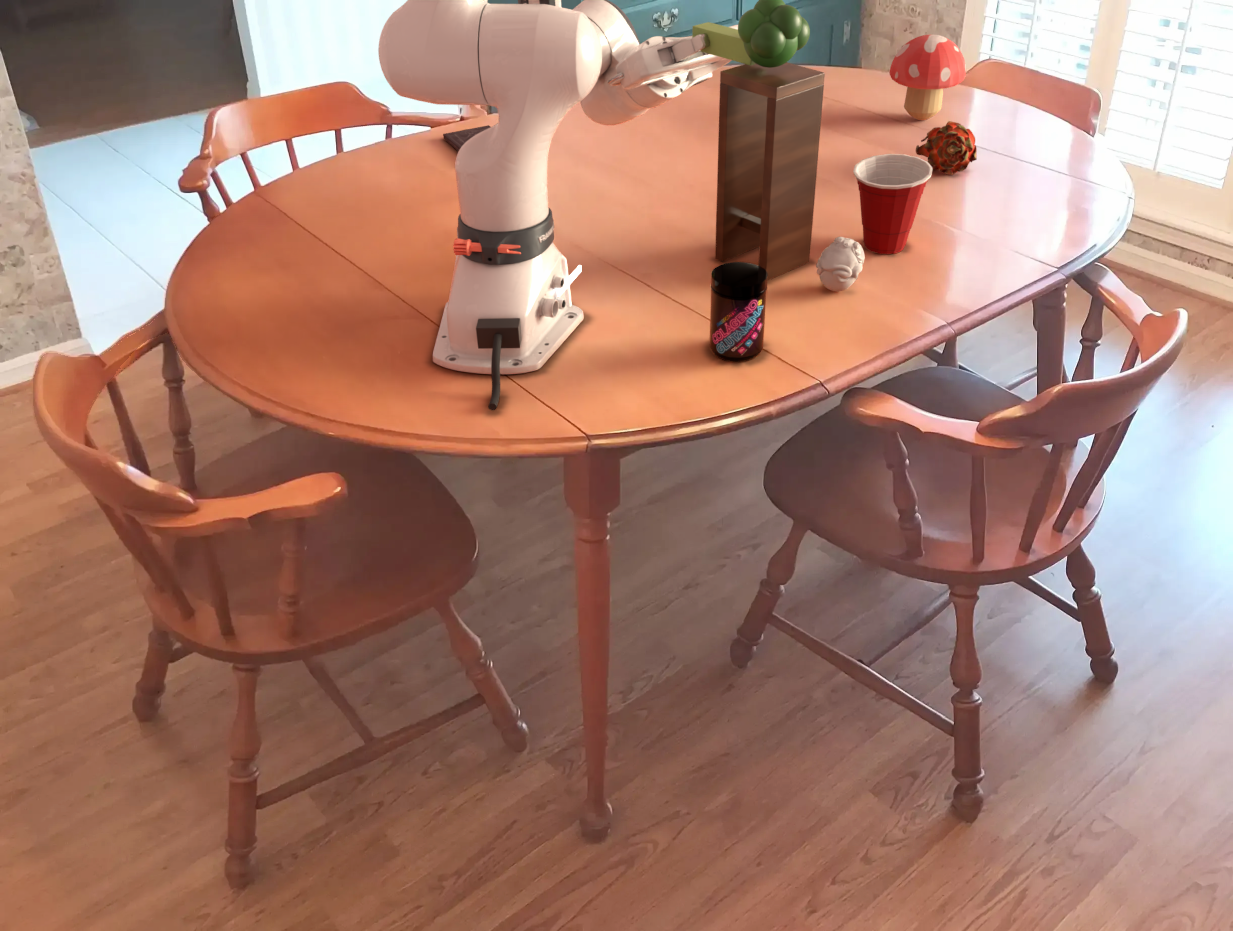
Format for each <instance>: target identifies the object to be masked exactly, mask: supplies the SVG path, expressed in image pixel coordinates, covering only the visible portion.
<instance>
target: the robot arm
mask: <svg viewBox="0 0 1233 931" xmlns="http://www.w3.org/2000/svg"><path fill="white" fill-rule="evenodd" d="M488 1H489V0H406V1H405V2H404V3H403V4H402V5H401V6H400V7H398V8H397V9H396V10H394V11H393V12H392V13H391V14H390V16H389V17H388V18H387V20H386V21H385V23H384V24H383V27H382V29H381V32H380V36H379V39H378V40H379V42H378V49H377V51H378V60H379V65H380V68H381V71H382V74H383V76H384V78H385V80H386V82H387V83H388V85H389V86H390V87H391V89H392V90H393V91H394V92H395V93H396V94H397V95H398V96H400V97H403V98H405V99H406V98H407V99H410V100H414V101H418V102H423V103H429V104H434V105H444V106H445V105H448V106H449V105H450V106H451V105H452V106H453V105H454V106H455V105H456V106H490V107H494V108H496V109H497V113H498V122H497V123H496V124H494V125H492V126H490V128H488V129H486V130H484V131H482V132H480V133H478V134H477V135H475V136H473V137H472V138H470V139H469V140H468V141H467V142H465V143H464V144H463V146H462V147H461V148H460V150H459V152H458V151H457V154H456V157H455V161H454V170H455V171H454V172H455V181H456V188H457V197H458V206H459V215H458V217H457V228H456V238H455V239H454V240H453V244H452V245H453V246H452V247H453V249H452V250H453V254H454V255H455V260H454V265H453V266H454V267H453V272H452V278H451V284H450V289H449V294H448V301H447V302H446V303H445V305H444V309H443V312H442V317H441V320H440V324H439V328H438V331H437V336H436V339H435V344H434V346H433V347H434V348H433V351H432V362H433V363H434V364H436V365H438V366H440V367H443V368H445V369H449V370H452V371H458V372H462V373H470V374H482V375H491V395H490V399H489V404H488V407H487V408H488V410H490V411H497V408H498V404H499V401H500V396H501V375H516V374H517V375H518V374H525V373H531V372H535V371H538V370H540V369H542V367H543V366H544V365H545V364H546V362H547V361H549V359H550V358H551V357H552V356H553V355H554V353H555V352H557V350H558V349H559V348H560V347H561V346H562V345H563V343H564V342H565V341H566V340H567V339H568V338H569V336H570V335H571V334H572V333H573V332H574V331H575V330H576V329H577V327H578V326H580V324H581V323H582V322H583V321H584V320H585V315H584V311H583V309H582V308H580V307H579V306H577V305H575V304H573V303H572V293H571V284H572V283H573V282H574V281H575V279H577V277H578V276H579V275H580V274H581V273H582V265H581V264H578V265H577V267H576V268H575V269H574V270H573V271H572V272H571V273H570V274H569V268H568V260H567V257H565V255H563V253H562V252H561V251H560V250H559V249H558V247H557V246H556V245H555V242H554V240H555V220H554V217H553V211H552V209H551V208H550V207H549V192H548V164H549V152H550V147H551V144H552V141H553V138H554V135H555V133H556V131H557V130H558V127H559V125H560V124H561V122H562V121H563V120H564V118H565V117H566V115H567V114H568V113H569V112H570V111H571V110H572V109H573V108H574V107H575V106H576V105H578V104H579V103H580V106H581V109H582V111H583V112H584V114H585V115H586V117H588V118H589V120H590V121H593V122H594V123H596V124H599V125H602V126H617V125H622V124H624V123H627V122H630V121H632V120H634V119H637V118H639V117H641V116H642V115H644V114H646V113H647V112H648V111H649V110H650V109H655V108H657V107H660V106H662V105H664V104H665V103H668V102H669V101H671V100H673V99H675V98H677V97H678V96H680V95H682V94H683V93H685V92H686V91H687V90H688V89H690V88H692V87H694V86H697V85H699V84H701V83H704V82H706V81H707V80H709V79H711V78H713V72H715V71H718V70H719V69H722V68H723V67H724V66H726V65H727V64H729V63H730V62H733V60H729V59H726V58H722V57H719V56H715V55H712V54H708V53H705V52H701V50H704V49H705V48H707V47H709V46H710V40H709V39H708V38H709V37H708V35H707V34H706V33H704V34H700V35H697V36H695V37H693V38H692V34H691V35H687V36H680V37H677V36H675V37H674V36H667V37H666V36H662V35H656V36H652V37H649V38H647V39H646V40H644V41H642V42H640V39H639V36H638V35H637V32H636V30H635V27H634V25H633V23H632V22H631V20H630V19H629V17H628V15H626V13H625V12H624V11H623V10H622V8H620V7H619V6H618V5H617V4H615V3H614V2H613V1H610V0H582V1H581V2H580V3H579V4H577V5H576V6H574V8H572V9H571V8H567V7H562V0H517V3H490V2H488ZM729 27H730V28H734V29H737V30H738V24H734V25H730V26H729Z"/></svg>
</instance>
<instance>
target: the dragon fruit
mask: <svg viewBox="0 0 1233 931" xmlns="http://www.w3.org/2000/svg"><path fill="white" fill-rule="evenodd" d="M925 141H926V142H925ZM920 142H921V143H922V142H925V143H923V144H921V145H918V144H917V145H916V147H915V154H916V156H917V155H918V156H923V157H925V158H927V160H926V161H927V162H928V163H929V164H930V165H931V166H932V168H933V169H932V171H939V172H941V173H942V174H946V175H950V176H953V175H955V174H956V173H959V172H960V173H961V172H963V171H965V170H967V168H968V166H969V164H970V163H973V162H974V161H977V159H978V158H977V156H978V155H977V153H978V152H977V151H978V149H977V146H976V136H975V135H974V133H973V132H972V130H971V129H970V128H966V127H965V125H962V124H961V123H959V122H957V121H952V120H951V121H949V120H948V121H947V123H946V124H945V125H943V126H942V127H940V126H937V127H933V128H932V129H931V130H929V131H928V132H926V136H925V137H923V138H921V140H920Z"/></svg>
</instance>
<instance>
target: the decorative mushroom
mask: <svg viewBox="0 0 1233 931" xmlns="http://www.w3.org/2000/svg"><path fill="white" fill-rule="evenodd" d="M888 72H889V77H890V78H891V80H892V81H893V82H895V83H896V84H898V85H900V86H903V87H906V93H905V99H904V103H903V108H904V110H905V111H906V113H907V114H908V115H909V116H911V117H912V118H913V119H915V120H917V121H927V120H928V119H930V118H932V117H935V116H936V115H937V114H938V113H939V112H940V111H941V110H942V106H943V96H944V89H949V88H953V87H956V86H957V85H958V86H959V84H961V83H962V82H964V80H965V78H966V75H967V66H966V61H965V57H964V55H963V53H962V51H961V49H960V47H958V45H957V44H956V43H955V42H954V41H952V40H951V39H949V38H947V37H945V36H943V35H939V34H923V35H919V36H916V37H915V38H912V39H909V41H907V42H906V43H904V44H903V46H902V47H900V49H899V50H898V52H896V54H895V56H894V58H893V59H892V62H891V64H890V67H889V71H888Z"/></svg>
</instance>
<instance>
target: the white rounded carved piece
mask: <svg viewBox="0 0 1233 931" xmlns="http://www.w3.org/2000/svg"><path fill="white" fill-rule="evenodd" d="M865 256H866V255H865V251H864V248H863V246H862V245H861V244H860V242H858V241H856V240H854V239H853V238H850V237H844V236H837V237H835V238H834V240H833V242H831V243H830V244H829V245H828V246H827V247H826V248H824V249H823V250H822V252H821V253H820V256H819V258H817V262H816V264H815V267H816V268H817V270H816V274H817V275H818V276H819V279H820V280H819V281H820V283H821V284H822V286H824V287H825V288H826V289H828V290H829V291H831V292H843V291H845V290H848V289H849V288H850V287H851V286H852V285H853V284H854V283H855V282H856V281H857V279H858V277H859V274H860V273H862V272H863V265H864V263H865V259H866V257H865Z"/></svg>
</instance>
